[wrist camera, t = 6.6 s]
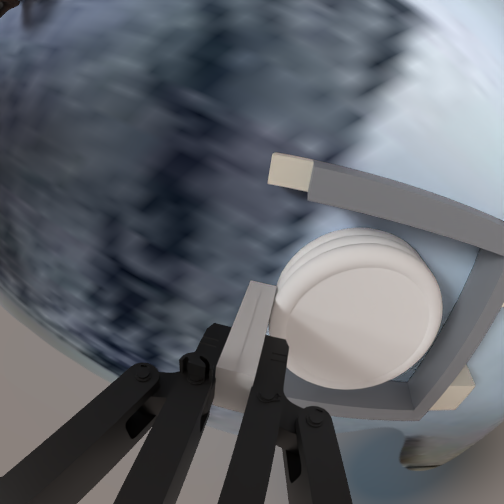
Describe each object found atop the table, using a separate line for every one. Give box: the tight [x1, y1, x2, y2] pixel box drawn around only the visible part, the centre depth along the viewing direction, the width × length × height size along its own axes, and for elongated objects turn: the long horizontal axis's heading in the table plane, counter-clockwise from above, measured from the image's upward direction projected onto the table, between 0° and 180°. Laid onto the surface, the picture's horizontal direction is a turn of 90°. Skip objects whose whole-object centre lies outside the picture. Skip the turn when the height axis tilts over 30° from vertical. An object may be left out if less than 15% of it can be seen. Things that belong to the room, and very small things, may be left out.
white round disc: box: [269, 228, 443, 390], centre depth 15 cm, size 10×10×4 cm
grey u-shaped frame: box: [268, 152, 504, 421], centre depth 15 cm, size 18×16×3 cm
